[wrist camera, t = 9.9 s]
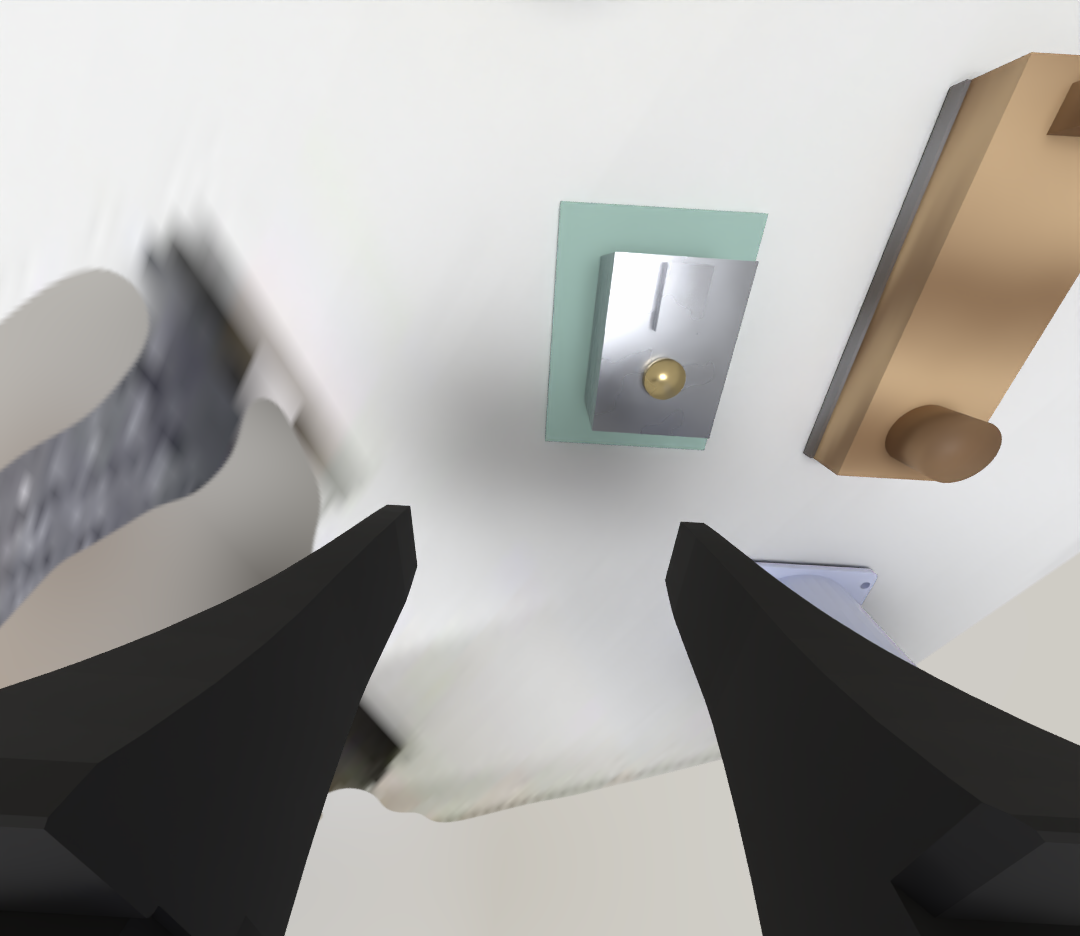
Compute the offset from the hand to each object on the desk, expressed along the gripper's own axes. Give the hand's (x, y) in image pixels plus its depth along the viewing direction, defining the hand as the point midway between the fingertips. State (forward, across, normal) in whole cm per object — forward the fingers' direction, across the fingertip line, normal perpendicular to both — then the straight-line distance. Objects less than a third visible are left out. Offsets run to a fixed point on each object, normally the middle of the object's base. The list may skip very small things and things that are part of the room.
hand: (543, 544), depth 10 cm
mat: (+10, -4, -4) cm, 11 cm away
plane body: (+10, -16, -6) cm, 20 cm away
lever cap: (+10, -4, -4) cm, 11 cm away
